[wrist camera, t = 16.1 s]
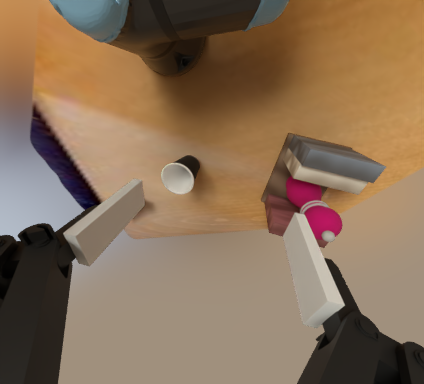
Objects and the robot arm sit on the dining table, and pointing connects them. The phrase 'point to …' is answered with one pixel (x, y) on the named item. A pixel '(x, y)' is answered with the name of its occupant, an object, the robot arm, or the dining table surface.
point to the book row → (314, 175)
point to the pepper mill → (314, 209)
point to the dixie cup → (180, 174)
